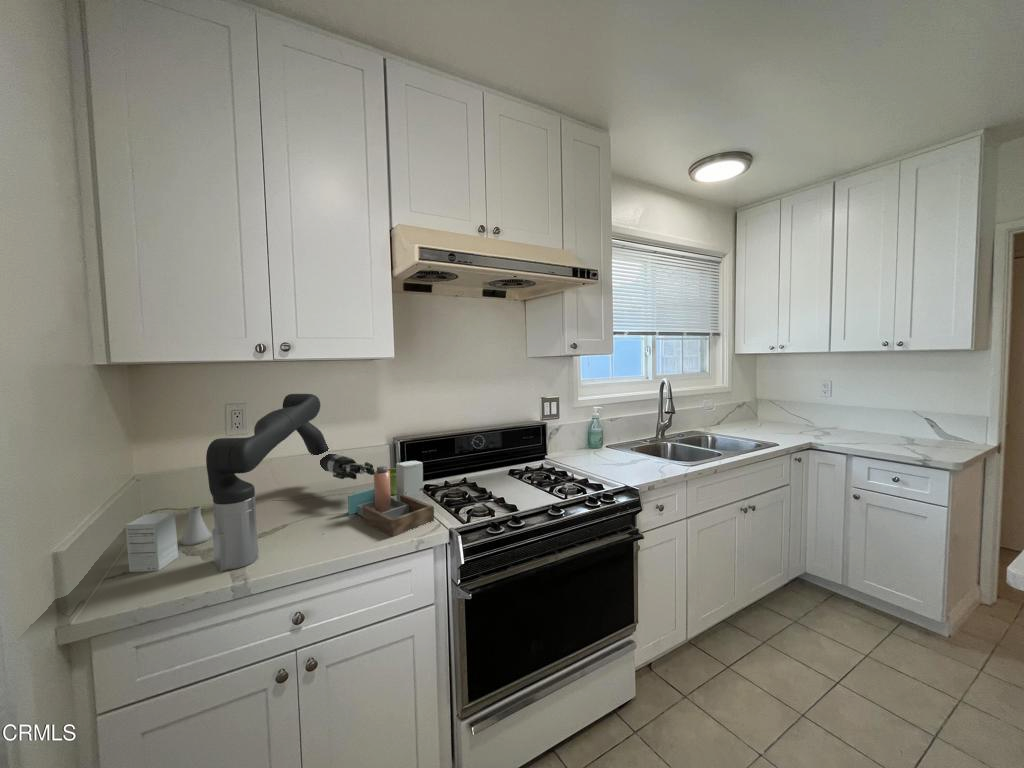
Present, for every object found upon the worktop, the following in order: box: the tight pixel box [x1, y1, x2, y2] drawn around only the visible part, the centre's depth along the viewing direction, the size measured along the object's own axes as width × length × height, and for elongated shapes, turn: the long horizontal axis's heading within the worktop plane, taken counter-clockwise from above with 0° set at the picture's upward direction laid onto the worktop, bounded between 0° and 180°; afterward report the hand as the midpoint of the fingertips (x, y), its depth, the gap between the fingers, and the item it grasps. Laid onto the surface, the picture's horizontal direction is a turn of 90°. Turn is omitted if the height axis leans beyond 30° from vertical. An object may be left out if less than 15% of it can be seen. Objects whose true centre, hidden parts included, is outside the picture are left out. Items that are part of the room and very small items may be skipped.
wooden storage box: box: [362, 495, 435, 537], centre depth 137 cm, size 15×17×5 cm
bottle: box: [373, 465, 392, 513], centre depth 143 cm, size 5×5×15 cm
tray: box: [347, 485, 409, 518], centre depth 144 cm, size 16×15×6 cm
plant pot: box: [387, 467, 397, 496], centre depth 165 cm, size 9×9×9 cm
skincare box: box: [395, 460, 424, 502], centre depth 155 cm, size 8×6×15 cm
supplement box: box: [124, 512, 179, 573], centre depth 110 cm, size 7×7×13 cm
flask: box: [179, 505, 213, 546], centre depth 124 cm, size 7×7×10 cm
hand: (364, 474), depth 150 cm, fingers open, 6 cm apart
